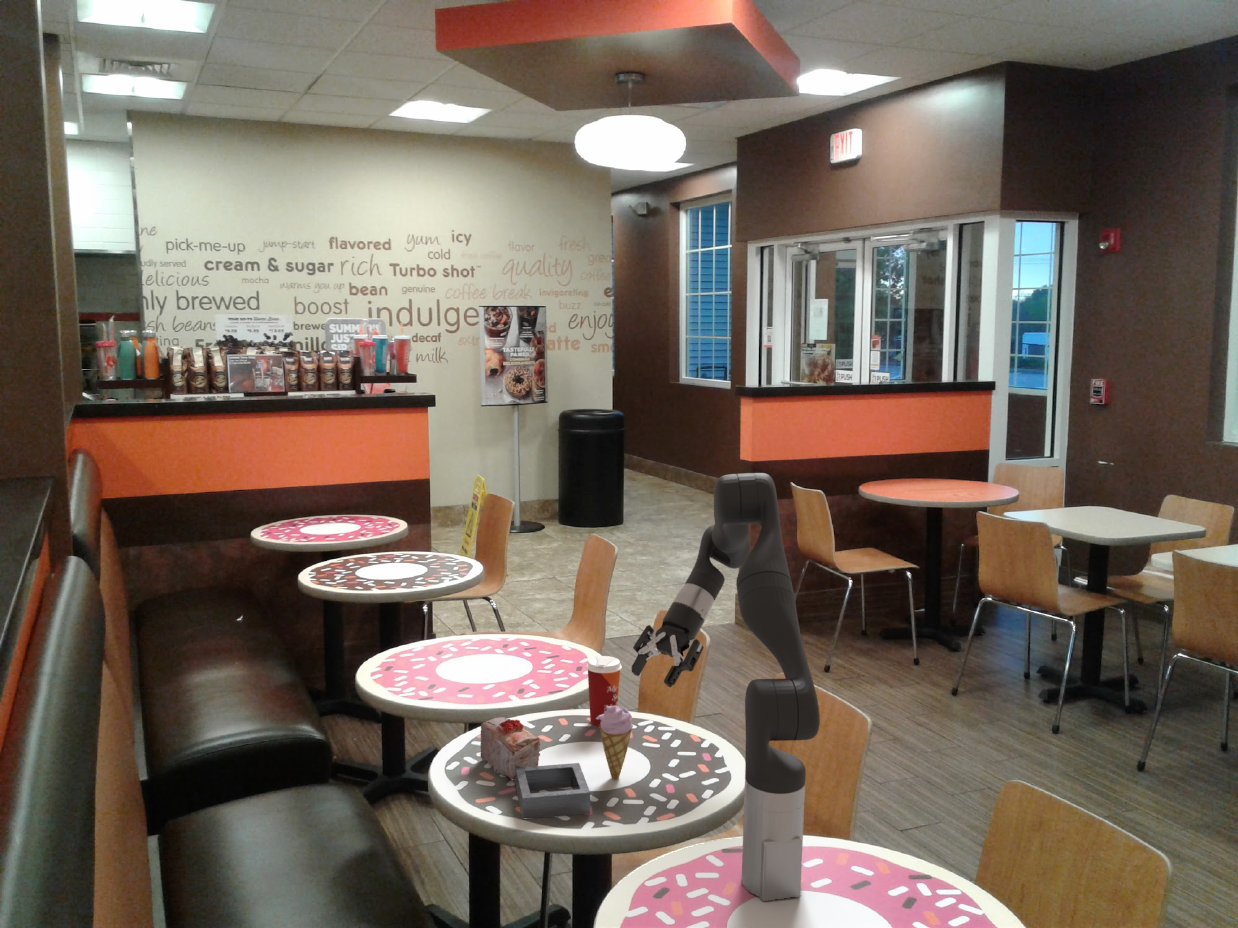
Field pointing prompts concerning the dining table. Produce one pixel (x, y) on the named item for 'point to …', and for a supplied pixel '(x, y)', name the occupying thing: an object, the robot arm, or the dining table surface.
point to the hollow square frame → (552, 801)
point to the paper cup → (602, 685)
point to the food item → (508, 746)
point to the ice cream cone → (615, 737)
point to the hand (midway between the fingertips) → (650, 679)
